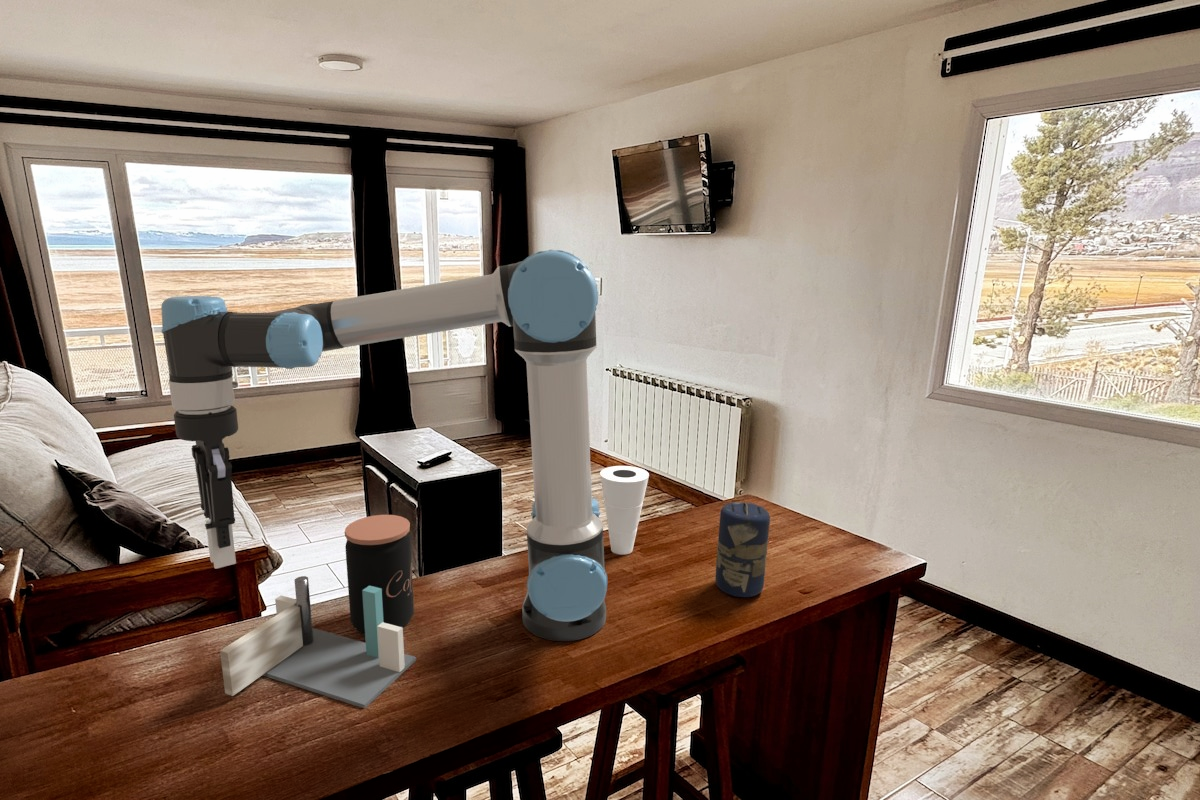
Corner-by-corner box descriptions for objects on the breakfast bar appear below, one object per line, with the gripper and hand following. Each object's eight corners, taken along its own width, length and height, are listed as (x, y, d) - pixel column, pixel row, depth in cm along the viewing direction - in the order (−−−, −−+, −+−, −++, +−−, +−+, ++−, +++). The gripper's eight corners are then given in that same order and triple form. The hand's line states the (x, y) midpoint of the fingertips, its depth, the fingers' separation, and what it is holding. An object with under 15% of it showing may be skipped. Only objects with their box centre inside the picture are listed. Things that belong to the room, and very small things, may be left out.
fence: (404, 667, 99) (402, 627, 97) (399, 672, 98) (397, 631, 96) (284, 632, 107) (281, 595, 106) (278, 636, 106) (275, 598, 104)
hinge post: (316, 643, 105) (310, 577, 103) (307, 650, 104) (301, 583, 101) (307, 640, 106) (301, 575, 103) (297, 647, 104) (291, 580, 102)
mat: (416, 660, 102) (416, 656, 102) (364, 708, 91) (364, 704, 91) (295, 626, 110) (295, 623, 110) (235, 666, 99) (234, 663, 99)
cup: (646, 561, 137) (650, 482, 133) (597, 560, 137) (599, 481, 133) (644, 540, 147) (647, 466, 143) (598, 538, 147) (600, 465, 143)
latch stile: (385, 655, 103) (381, 588, 100) (378, 661, 101) (374, 593, 99) (373, 652, 104) (369, 585, 101) (366, 657, 102) (362, 590, 99)
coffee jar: (395, 642, 106) (390, 543, 102) (338, 633, 108) (330, 536, 104) (425, 608, 116) (421, 517, 112) (372, 601, 119) (366, 511, 115)
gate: (295, 643, 104) (292, 605, 102) (303, 645, 103) (299, 607, 102) (225, 693, 92) (219, 650, 90) (232, 696, 91) (227, 653, 90)
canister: (709, 594, 124) (715, 508, 120) (719, 573, 133) (725, 492, 129) (759, 605, 120) (767, 517, 116) (766, 582, 129) (774, 499, 125)
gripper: (248, 414, 86) (264, 573, 91) (223, 395, 97) (239, 538, 102) (183, 423, 81) (204, 590, 86) (164, 401, 92) (184, 551, 97)
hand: (223, 561), depth 94 cm, fingers open, 2 cm apart
